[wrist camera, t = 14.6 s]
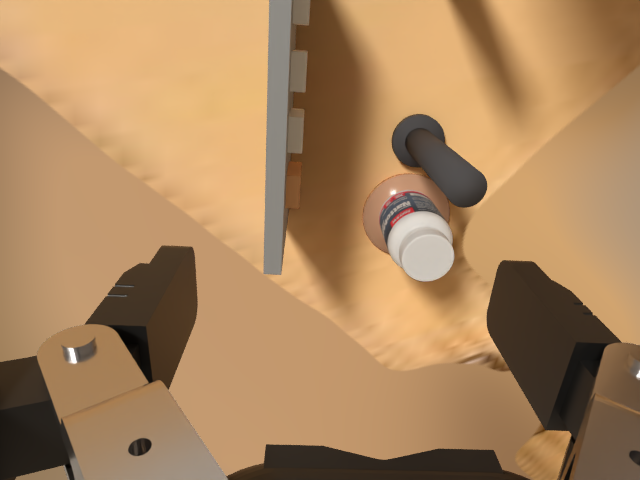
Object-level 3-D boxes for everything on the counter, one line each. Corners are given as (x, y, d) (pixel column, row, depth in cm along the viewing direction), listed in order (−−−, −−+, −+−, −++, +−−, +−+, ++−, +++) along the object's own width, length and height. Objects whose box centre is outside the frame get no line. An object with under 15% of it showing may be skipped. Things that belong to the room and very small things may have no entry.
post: (395, 112, 39) (436, 149, 27) (446, 115, 40) (511, 154, 27) (388, 163, 41) (424, 220, 28) (437, 166, 41) (494, 224, 29)
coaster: (367, 170, 41) (368, 172, 41) (455, 176, 42) (457, 177, 41) (358, 251, 45) (358, 253, 44) (440, 255, 45) (441, 257, 45)
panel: (284, -69, 34) (271, -118, 23) (313, -66, 34) (315, -114, 23) (275, 212, 43) (263, 273, 32) (299, 214, 43) (295, 275, 32)
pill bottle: (397, 178, 41) (418, 213, 33) (445, 204, 42) (478, 244, 34) (367, 227, 43) (380, 271, 35) (414, 250, 44) (438, 299, 36)
